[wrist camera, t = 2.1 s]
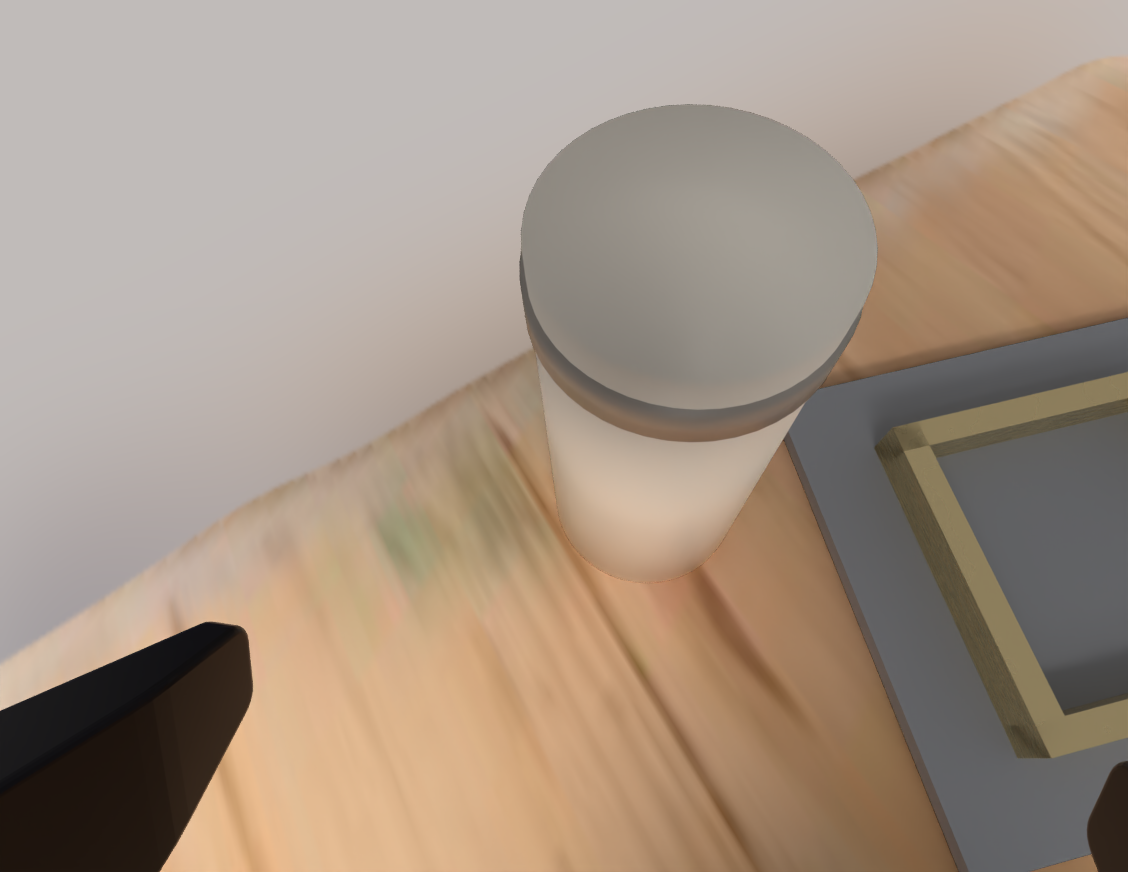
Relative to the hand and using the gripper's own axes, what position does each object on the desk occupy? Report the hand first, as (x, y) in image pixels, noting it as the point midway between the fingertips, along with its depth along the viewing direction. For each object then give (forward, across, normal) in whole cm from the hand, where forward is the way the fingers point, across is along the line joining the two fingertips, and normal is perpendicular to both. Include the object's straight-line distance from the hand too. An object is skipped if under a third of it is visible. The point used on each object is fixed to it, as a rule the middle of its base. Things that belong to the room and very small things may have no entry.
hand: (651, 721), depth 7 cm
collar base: (+15, -13, +4) cm, 20 cm away
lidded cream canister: (+15, 0, +4) cm, 15 cm away
